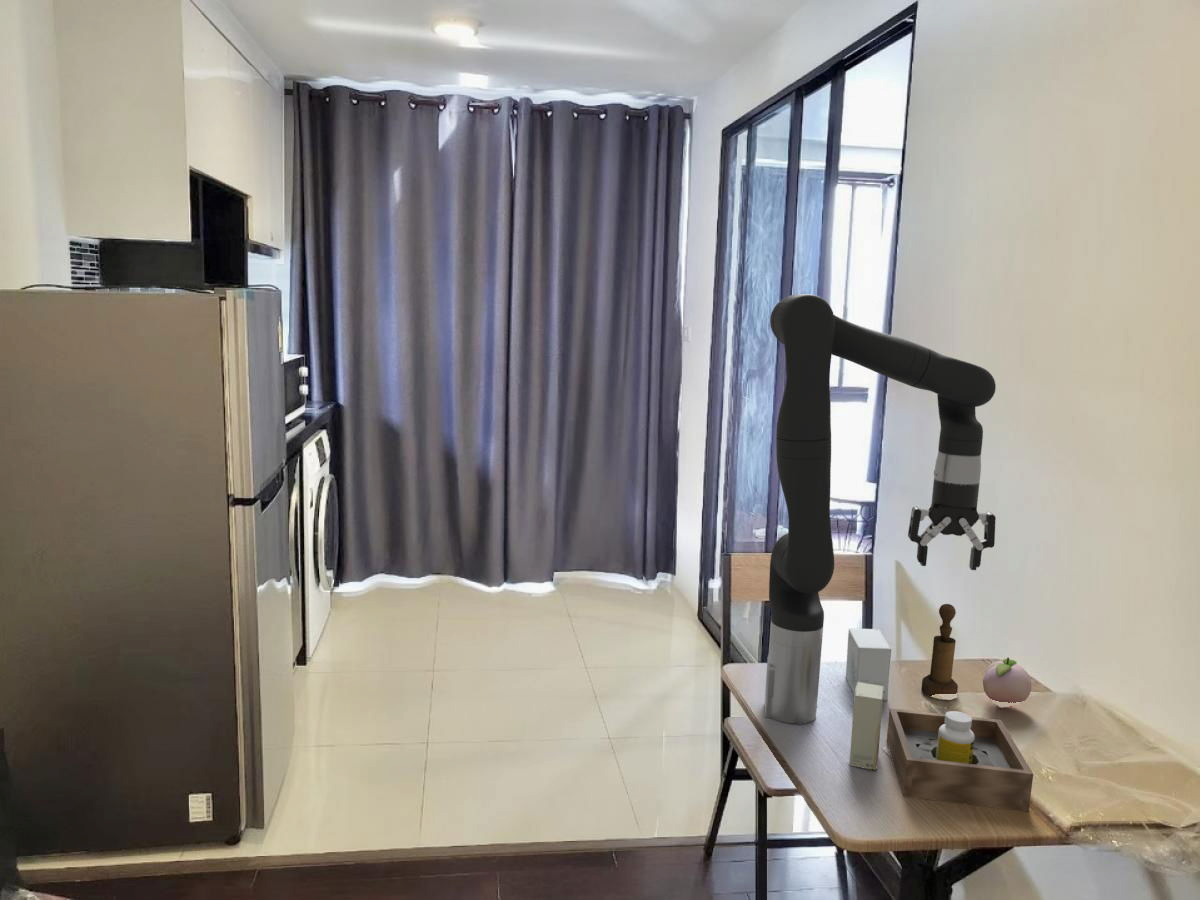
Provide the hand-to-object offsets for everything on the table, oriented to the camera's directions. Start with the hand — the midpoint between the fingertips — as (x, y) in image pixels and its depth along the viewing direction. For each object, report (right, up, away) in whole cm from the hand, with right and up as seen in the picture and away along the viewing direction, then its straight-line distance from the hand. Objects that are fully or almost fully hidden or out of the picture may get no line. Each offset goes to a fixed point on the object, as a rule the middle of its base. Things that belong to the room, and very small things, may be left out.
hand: (947, 567), depth 161 cm
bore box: (-6, -31, -17) cm, 36 cm away
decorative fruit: (+14, -28, +8) cm, 32 cm away
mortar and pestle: (+4, -27, +14) cm, 30 cm away
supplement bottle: (-6, -31, -17) cm, 36 cm away
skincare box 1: (-10, -26, +15) cm, 32 cm away
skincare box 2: (-19, -30, -13) cm, 38 cm away
